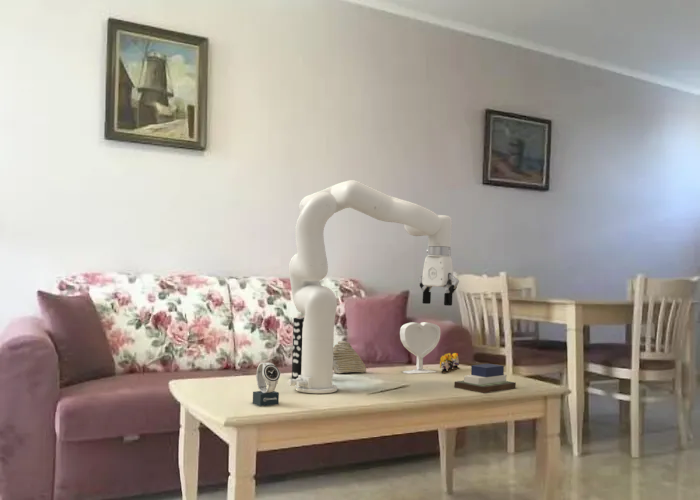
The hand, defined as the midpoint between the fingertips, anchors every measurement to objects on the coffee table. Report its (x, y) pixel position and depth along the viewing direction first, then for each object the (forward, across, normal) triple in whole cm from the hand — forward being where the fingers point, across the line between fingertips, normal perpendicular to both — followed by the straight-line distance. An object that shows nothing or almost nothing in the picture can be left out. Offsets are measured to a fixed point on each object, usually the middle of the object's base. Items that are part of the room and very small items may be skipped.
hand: (437, 304), depth 223 cm
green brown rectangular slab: (+26, +14, +10) cm, 31 cm away
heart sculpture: (+26, -22, +15) cm, 37 cm away
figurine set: (+26, -18, +27) cm, 41 cm away
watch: (+28, -1, -64) cm, 69 cm away
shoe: (+24, +14, +10) cm, 29 cm away
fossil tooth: (+27, -33, -10) cm, 44 cm away
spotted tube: (+27, -31, -30) cm, 51 cm away
